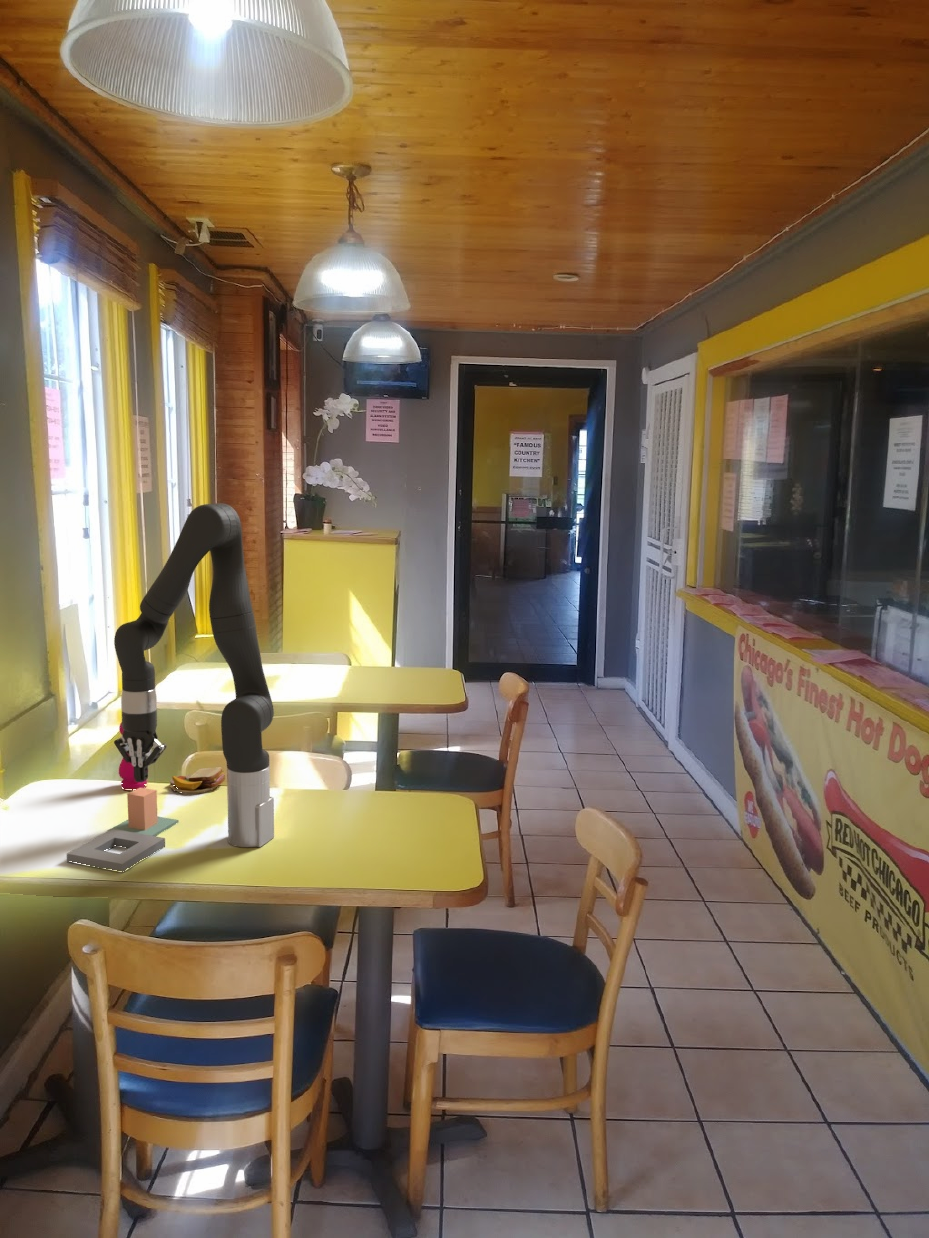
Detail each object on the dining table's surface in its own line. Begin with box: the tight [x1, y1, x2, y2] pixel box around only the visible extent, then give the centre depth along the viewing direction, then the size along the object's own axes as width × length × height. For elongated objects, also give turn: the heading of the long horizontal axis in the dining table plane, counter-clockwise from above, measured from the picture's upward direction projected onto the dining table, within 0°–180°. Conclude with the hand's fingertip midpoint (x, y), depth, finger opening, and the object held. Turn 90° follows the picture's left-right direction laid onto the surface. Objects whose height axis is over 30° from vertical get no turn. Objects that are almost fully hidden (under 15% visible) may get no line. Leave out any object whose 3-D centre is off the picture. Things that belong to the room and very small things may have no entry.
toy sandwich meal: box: [169, 766, 226, 795], centre depth 237 cm, size 12×14×5 cm
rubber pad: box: [107, 815, 179, 837], centre depth 210 cm, size 11×11×1 cm
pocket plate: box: [66, 828, 166, 872], centre depth 196 cm, size 14×14×2 cm
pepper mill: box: [118, 721, 148, 790], centre depth 234 cm, size 7×7×20 cm
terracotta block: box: [126, 787, 158, 830], centre depth 210 cm, size 4×4×8 cm
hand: (140, 781), depth 209 cm, fingers closed
